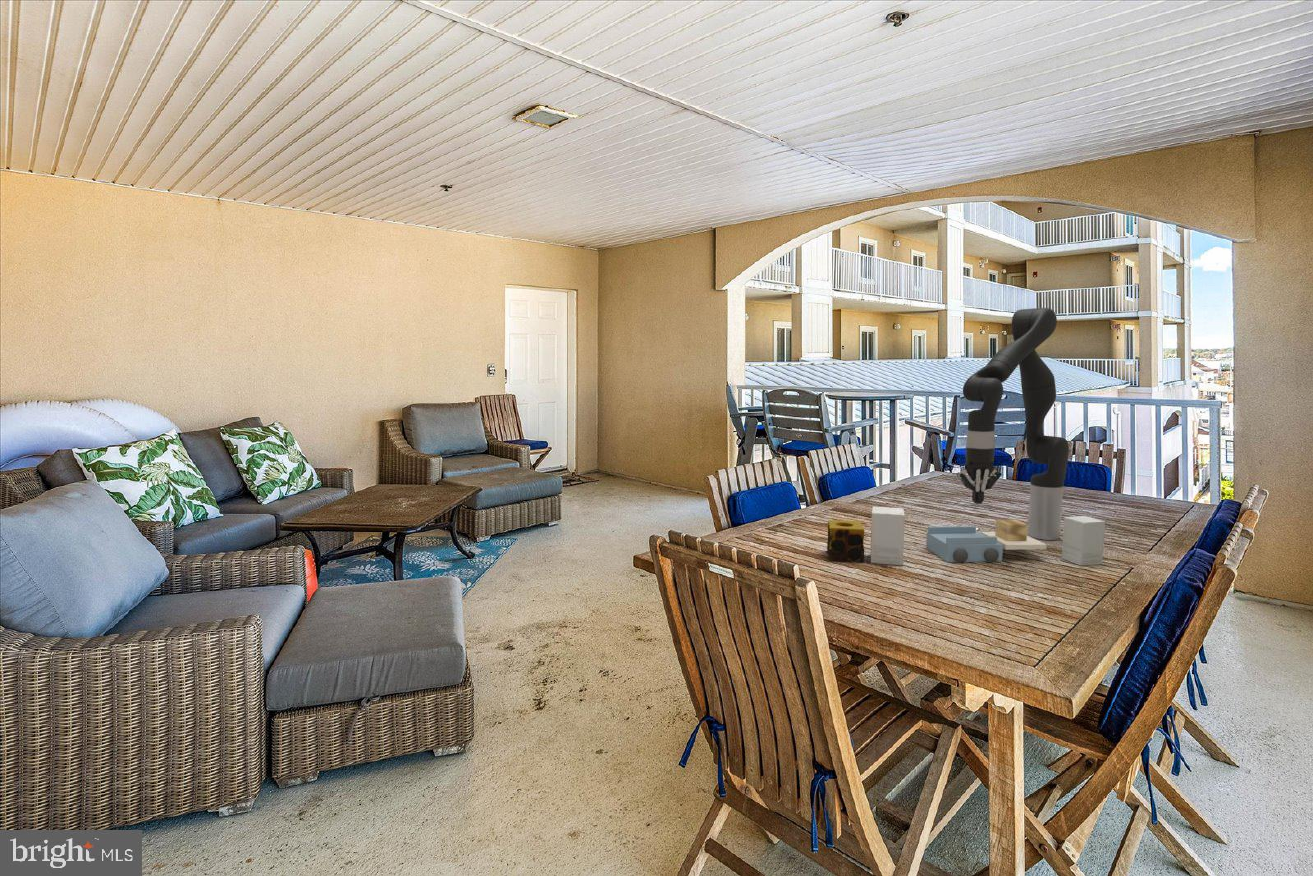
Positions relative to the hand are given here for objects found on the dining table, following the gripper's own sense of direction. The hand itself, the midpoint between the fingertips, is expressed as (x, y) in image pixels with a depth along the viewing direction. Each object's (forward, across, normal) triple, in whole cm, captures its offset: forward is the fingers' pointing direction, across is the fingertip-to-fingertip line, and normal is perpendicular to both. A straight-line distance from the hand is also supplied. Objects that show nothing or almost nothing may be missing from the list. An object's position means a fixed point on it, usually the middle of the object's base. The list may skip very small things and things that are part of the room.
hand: (977, 503), depth 195 cm
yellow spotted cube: (+15, +40, 0) cm, 43 cm away
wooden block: (+11, -10, 0) cm, 15 cm away
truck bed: (+16, +4, 0) cm, 16 cm away
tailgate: (+12, -4, 0) cm, 12 cm away
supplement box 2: (+16, -27, +9) cm, 32 cm away
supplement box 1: (+15, +29, +4) cm, 33 cm away
